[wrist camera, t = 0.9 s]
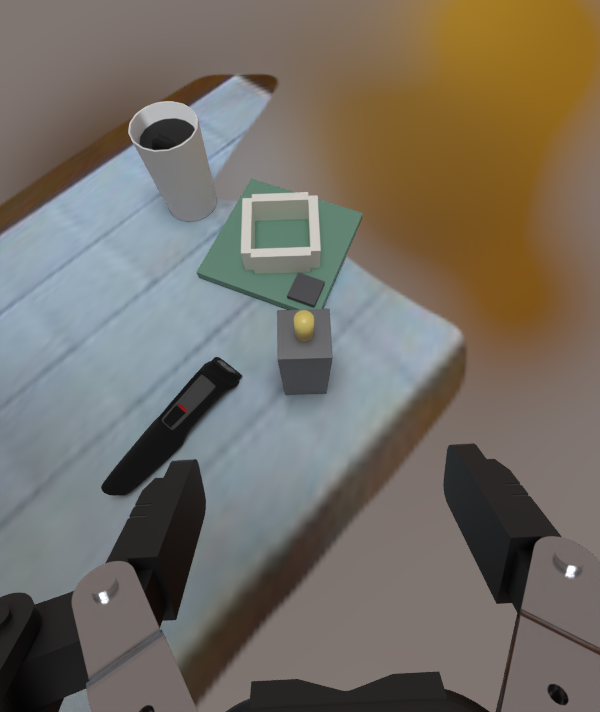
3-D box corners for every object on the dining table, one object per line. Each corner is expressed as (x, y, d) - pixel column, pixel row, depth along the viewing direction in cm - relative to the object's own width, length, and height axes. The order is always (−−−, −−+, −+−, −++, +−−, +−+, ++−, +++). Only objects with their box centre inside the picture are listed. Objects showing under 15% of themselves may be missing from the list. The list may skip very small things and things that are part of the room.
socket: (245, 274, 41) (240, 257, 38) (246, 214, 44) (242, 194, 41) (319, 271, 41) (320, 254, 38) (316, 211, 44) (317, 191, 41)
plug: (285, 394, 37) (275, 347, 26) (284, 356, 39) (274, 294, 27) (326, 393, 37) (334, 345, 26) (324, 355, 39) (331, 292, 27)
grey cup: (214, 227, 44) (189, 154, 35) (158, 222, 45) (119, 148, 35) (225, 182, 47) (204, 103, 37) (172, 178, 47) (138, 98, 38)
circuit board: (199, 277, 42) (195, 269, 41) (252, 185, 46) (250, 174, 45) (317, 320, 40) (318, 313, 38) (361, 219, 44) (363, 209, 43)
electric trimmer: (105, 477, 35) (86, 476, 32) (218, 356, 39) (211, 345, 36) (132, 505, 34) (115, 506, 31) (245, 378, 38) (240, 369, 35)
